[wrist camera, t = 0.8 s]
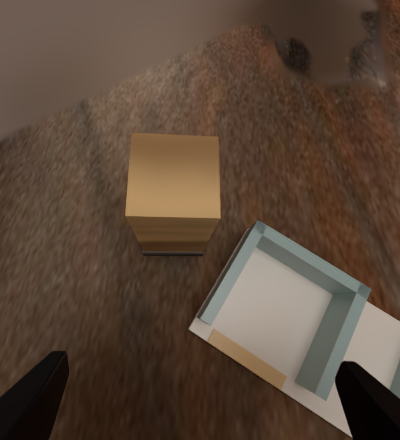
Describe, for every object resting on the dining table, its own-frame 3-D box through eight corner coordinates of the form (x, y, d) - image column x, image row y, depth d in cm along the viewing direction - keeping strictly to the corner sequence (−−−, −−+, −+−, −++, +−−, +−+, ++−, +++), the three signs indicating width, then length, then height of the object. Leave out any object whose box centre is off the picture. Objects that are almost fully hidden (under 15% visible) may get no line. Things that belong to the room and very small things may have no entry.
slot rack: (477, 519, 20) (551, 571, 16) (187, 328, 22) (190, 332, 18) (505, 391, 22) (574, 409, 18) (244, 231, 24) (258, 217, 20)
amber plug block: (202, 256, 23) (222, 220, 14) (143, 255, 23) (122, 218, 13) (201, 202, 25) (220, 135, 15) (146, 200, 24) (129, 130, 15)
